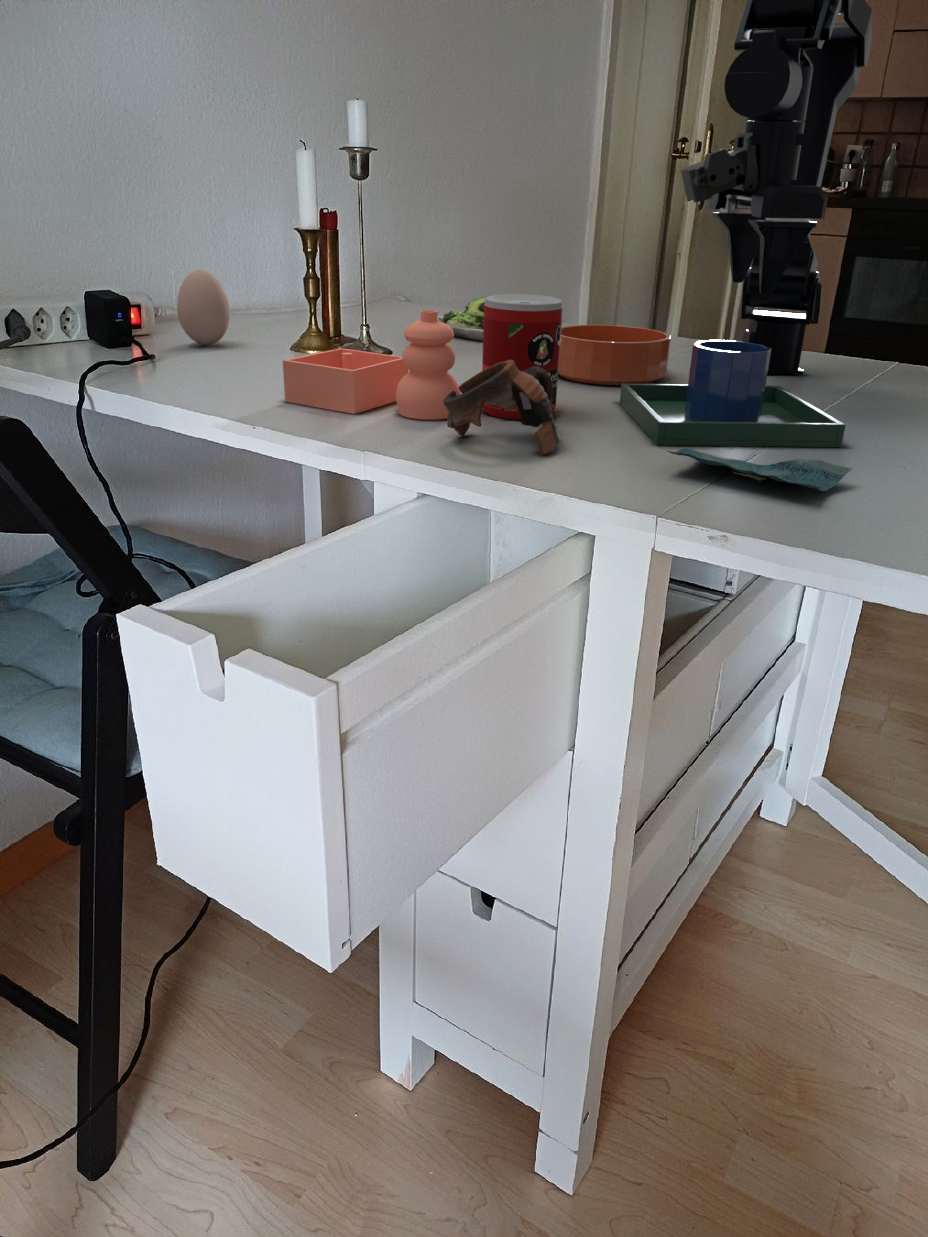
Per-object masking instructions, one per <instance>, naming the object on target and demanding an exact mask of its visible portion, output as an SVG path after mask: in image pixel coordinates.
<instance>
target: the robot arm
mask: <svg viewBox="0 0 928 1237" xmlns="http://www.w3.org/2000/svg"><path fill="white" fill-rule="evenodd" d="M839 15H843V20H844V21H837V20H838V16H839ZM872 38H873V8H872V7H871V6H870V5H869V4H868V2H867V1H866V0H747V1H746V4H745V7H744V11H743V13H742V16H741V20H740V24H739V27H738V30H737V34H736V37H735V41H734V46H733V48H734V51H736V52H739V53H740V54H738V55H737V56H736V57H735V59H734V60H733V62H732V63H731V65H730V66H729V68H728V70H727V73H726V75H725V79H724V96H725V99H726V102H727V104H728V105H729V107H730V108H731V109H732V110H733V111H734V112H735V113H736V114H738V115H740V116H741V117H745V120H744V126H743V132H739V133H736V136H734V138H733V143H732V149H731V150H728V151H727V149H725V148H719V149H718V150H717V151H714V152H712V153H706V154H705V157H704V159H703V160H701V161H698V162H695V163H693V164H690V165H688V166H685V167H683V168H681V169H680V174H681V178H682V183H683V188H684V192H685V196H686V201H687V202H691V201H692V202H693V203H696V204H697V203H701V202H705V201H708V206H707V208H708V209H711V210H718V211H714V212H713V211H712V212H711V215H712V217H713V218H715V219H716V220H717V221H718V223H719V224H720V225H721V226H722V227H723V229H724V230H725V235H726V242H727V250H728V258H729V266H730V274H731V281H732V282H733V283H734V284H735V283H737V284H738V283H743V285H742V294H741V296H742V297H741V310H740V320H749V321H748V327H747V328H748V329H745V330H744V331H743V336H742V340H741V341H742V342H751V343H756V344H761V345H765V346H767V347H769V348H771V355H770V361H769V367H768V373H767V375H771V374H772V375H773V374H775V375H784V374H785V375H803V374H804V371H805V370H804V369H802V368H800V363H801V357H802V351H803V346H804V340H805V333H806V329H807V326H810V325H818V324H819V322H820V318H821V310H822V303H823V287H824V285H823V283H822V282H821V278H820V272H819V271H817V270H818V265H819V263H818V258H817V256H816V253H815V250H814V248H813V244H812V242H811V234H812V231H813V229H815V228H817V226H818V221H814V220H816V219H817V220H823V219H825V217H826V212H827V207H828V206H827V205H828V200H829V196H828V195H827V193H826V192H825V191H824V189H823V188H822V183H823V179H824V174H825V168H826V164H827V160H828V155H829V150H830V147H831V146H830V145H831V140H832V136H833V132H834V127H835V124H836V118H837V114H838V111H839V109H840V108H841V107H842V106H843V104H844V103H845V102H846V101H847V100H848V99H849V97H851V95H852V94H853V93H854V92H855V90H856V89H857V86H858V82H859V78H860V75H861V70H862V68H866V67H867V65H868V63H869V58H870V53H871V49H872V48H871V47H872ZM758 309H767V310H758ZM769 310H780V311H769ZM782 311H790V312H782ZM791 311H792V312H793V313H792V312H791ZM794 311H795V312H805V313H794Z"/></svg>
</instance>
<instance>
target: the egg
mask: <svg viewBox="0 0 928 1237" xmlns="http://www.w3.org/2000/svg"><path fill="white" fill-rule="evenodd" d="M176 300H177V301H176V303H177V304H176V310H177V318H178V321H179V324H180V326H181V328H182V330H183V331H184V333H185V334H186V336H188V337H189V338H190V339H191V340H192V341H194V342H195V343H196V344H198V345H201V346H212V345H215V344H216V343H218V342H220V340H221V339H223V337H224V336H225V334H226V333H227V331H228V328H229V325H230V322H231V309H230V303H229V298H228V296H227V293H226V291H225V290H224V288H223V286H222V284H221V282H220V281H219V279H218V278H217V277H216V276H215V275H214V274H213V273H211V272H209V271H207V270H205V269H200V268H198V269H194V270H192V271H191V272H189V273H188V274H187V275H186V276H185V277H184V279H183V281H182V283H181V285H180V287H179V291H178V295H177V299H176Z"/></svg>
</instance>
